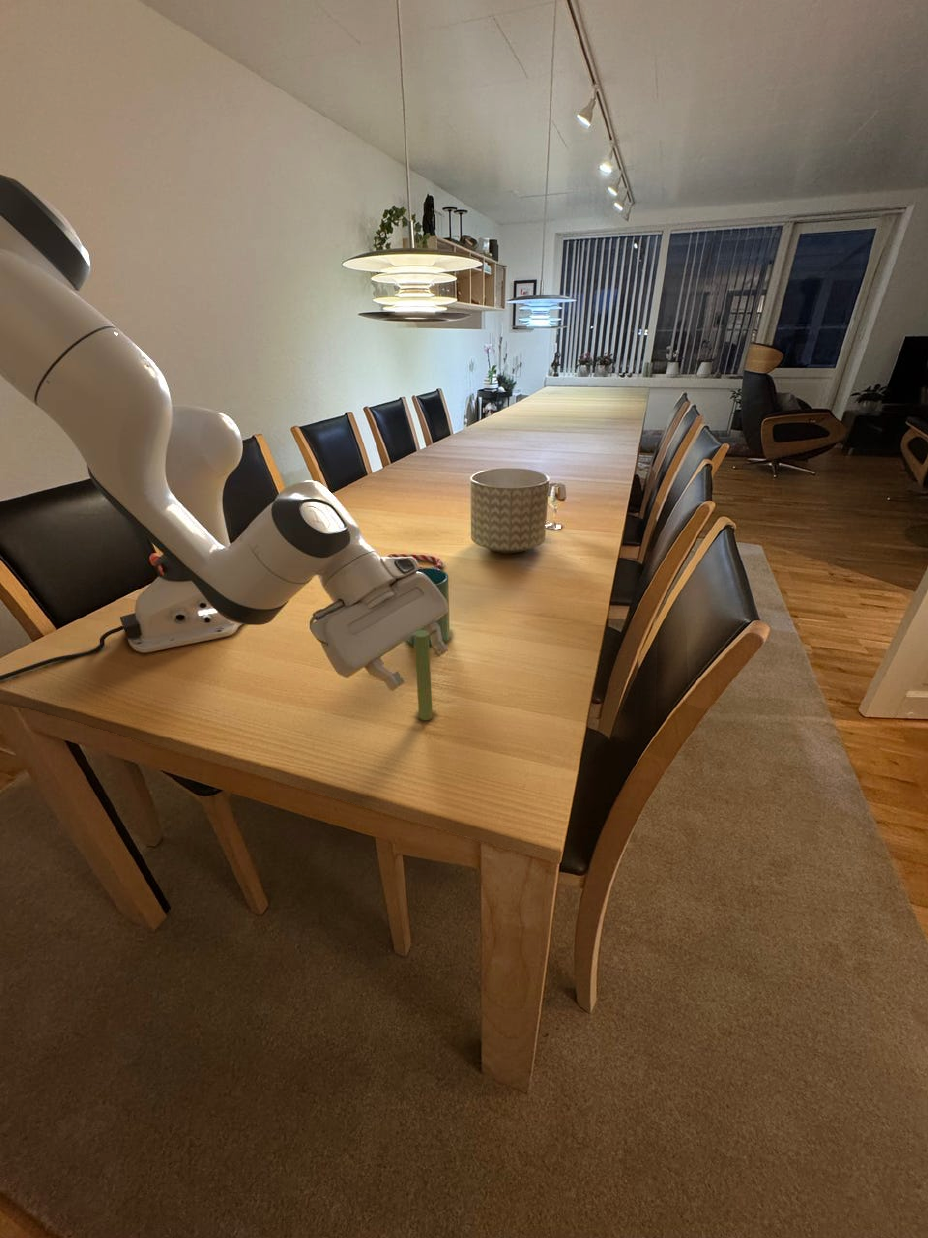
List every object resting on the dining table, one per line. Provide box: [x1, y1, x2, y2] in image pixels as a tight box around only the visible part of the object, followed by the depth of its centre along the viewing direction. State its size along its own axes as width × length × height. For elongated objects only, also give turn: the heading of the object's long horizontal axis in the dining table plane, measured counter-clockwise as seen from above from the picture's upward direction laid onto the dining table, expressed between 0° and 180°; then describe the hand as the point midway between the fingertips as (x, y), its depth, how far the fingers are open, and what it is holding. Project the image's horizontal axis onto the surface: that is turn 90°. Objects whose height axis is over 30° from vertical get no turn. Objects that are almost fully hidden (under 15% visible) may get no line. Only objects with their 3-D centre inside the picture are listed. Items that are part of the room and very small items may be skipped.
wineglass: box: [546, 482, 567, 531], centre depth 144 cm, size 6×6×12 cm
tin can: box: [406, 568, 451, 649], centre depth 92 cm, size 8×8×12 cm
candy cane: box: [387, 553, 444, 570], centre depth 124 cm, size 8×1×15 cm
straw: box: [413, 630, 434, 721], centre depth 71 cm, size 2×2×14 cm
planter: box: [470, 467, 550, 555], centre depth 129 cm, size 19×19×18 cm
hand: (421, 670), depth 70 cm, fingers open, 8 cm apart
